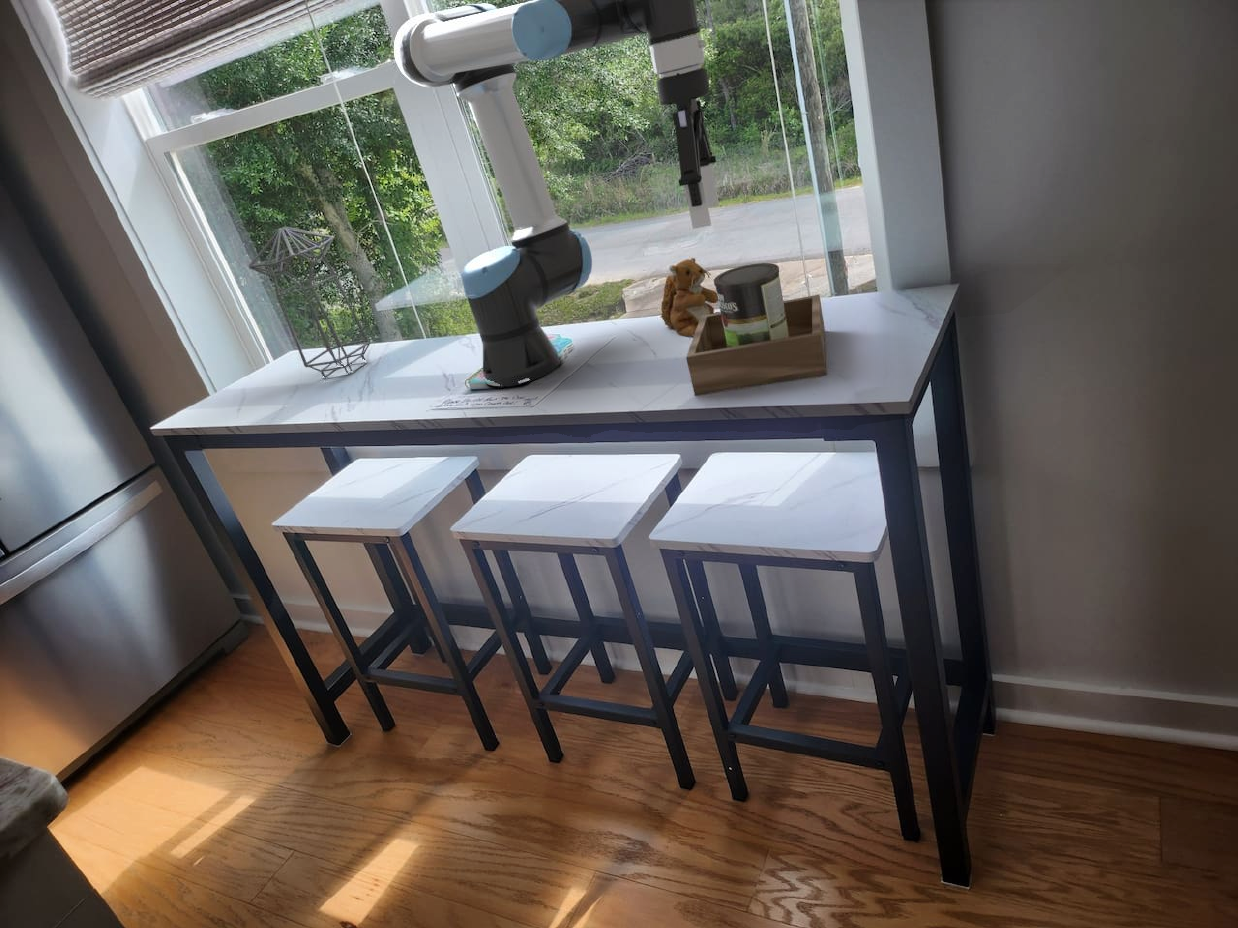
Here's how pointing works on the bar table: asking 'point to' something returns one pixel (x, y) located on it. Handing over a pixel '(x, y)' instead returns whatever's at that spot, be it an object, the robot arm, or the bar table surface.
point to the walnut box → (759, 352)
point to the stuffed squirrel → (686, 297)
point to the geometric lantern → (294, 235)
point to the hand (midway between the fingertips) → (706, 216)
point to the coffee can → (751, 304)
